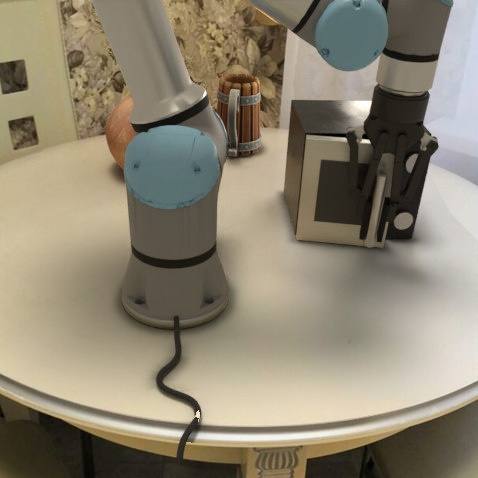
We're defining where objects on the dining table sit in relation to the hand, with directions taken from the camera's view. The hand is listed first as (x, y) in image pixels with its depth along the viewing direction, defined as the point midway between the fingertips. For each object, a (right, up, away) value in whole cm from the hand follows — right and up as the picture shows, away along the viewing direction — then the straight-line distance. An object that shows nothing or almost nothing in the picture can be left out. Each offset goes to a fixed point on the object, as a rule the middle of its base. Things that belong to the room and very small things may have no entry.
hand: (370, 236), depth 98 cm
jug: (-38, +16, +28) cm, 50 cm away
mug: (-22, +22, +36) cm, 48 cm away
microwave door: (-4, -2, +4) cm, 6 cm away
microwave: (-2, +5, +14) cm, 15 cm away
